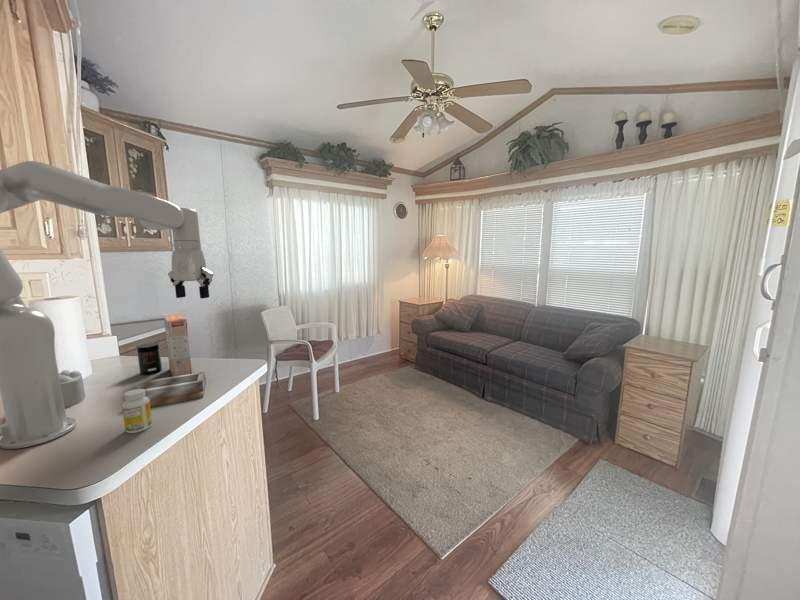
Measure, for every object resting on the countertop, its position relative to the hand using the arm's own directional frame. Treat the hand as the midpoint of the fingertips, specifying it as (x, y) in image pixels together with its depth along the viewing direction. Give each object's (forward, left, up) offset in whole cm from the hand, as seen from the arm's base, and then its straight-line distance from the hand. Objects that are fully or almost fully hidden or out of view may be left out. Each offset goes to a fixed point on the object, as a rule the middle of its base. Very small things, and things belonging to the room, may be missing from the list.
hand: (192, 297), depth 111 cm
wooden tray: (-7, -11, -29) cm, 32 cm away
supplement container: (-17, +17, -29) cm, 38 cm away
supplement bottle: (-11, -31, -29) cm, 44 cm away
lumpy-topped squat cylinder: (-36, 0, -29) cm, 46 cm away
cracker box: (-7, +11, -29) cm, 32 cm away
